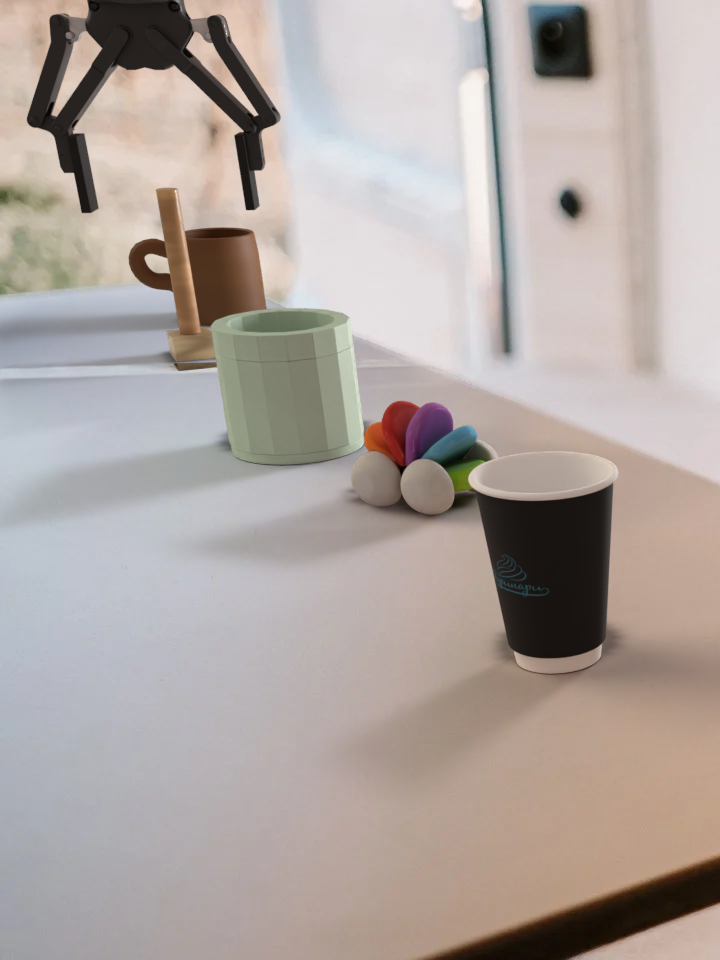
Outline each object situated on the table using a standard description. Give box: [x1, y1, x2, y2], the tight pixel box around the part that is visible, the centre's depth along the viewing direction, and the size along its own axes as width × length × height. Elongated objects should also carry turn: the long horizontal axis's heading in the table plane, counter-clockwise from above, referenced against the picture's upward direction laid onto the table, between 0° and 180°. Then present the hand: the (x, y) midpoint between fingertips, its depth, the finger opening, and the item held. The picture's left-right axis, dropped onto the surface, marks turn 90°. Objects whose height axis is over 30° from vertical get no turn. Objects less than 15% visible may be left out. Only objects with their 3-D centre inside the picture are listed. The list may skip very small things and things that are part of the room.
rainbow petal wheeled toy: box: [350, 400, 500, 516], centre depth 115 cm, size 8×10×7 cm
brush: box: [155, 187, 217, 371], centre depth 148 cm, size 4×4×16 cm
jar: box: [210, 307, 365, 466], centre depth 126 cm, size 10×10×10 cm
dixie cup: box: [468, 450, 619, 675], centre depth 90 cm, size 8×8×11 cm
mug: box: [128, 226, 268, 327], centre depth 163 cm, size 12×8×9 cm, turn 119°
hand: (172, 210), depth 145 cm, fingers open, 13 cm apart
